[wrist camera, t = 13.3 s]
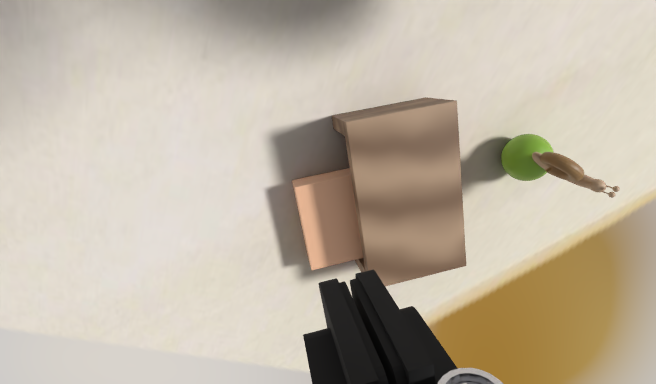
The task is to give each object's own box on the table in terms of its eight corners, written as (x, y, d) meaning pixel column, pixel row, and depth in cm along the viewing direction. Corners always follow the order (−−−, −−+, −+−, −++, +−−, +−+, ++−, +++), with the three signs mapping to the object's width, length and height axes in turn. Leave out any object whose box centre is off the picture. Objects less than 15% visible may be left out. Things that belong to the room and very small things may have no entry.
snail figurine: (520, 185, 48) (601, 217, 37) (483, 162, 47) (557, 188, 35) (545, 148, 48) (635, 169, 36) (508, 123, 46) (592, 137, 34)
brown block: (331, 115, 41) (346, 122, 35) (425, 97, 43) (456, 100, 36) (354, 260, 47) (371, 289, 40) (437, 240, 48) (466, 265, 42)
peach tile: (291, 179, 43) (294, 187, 40) (407, 154, 45) (419, 160, 42) (307, 256, 46) (311, 270, 43) (415, 230, 48) (427, 241, 45)
